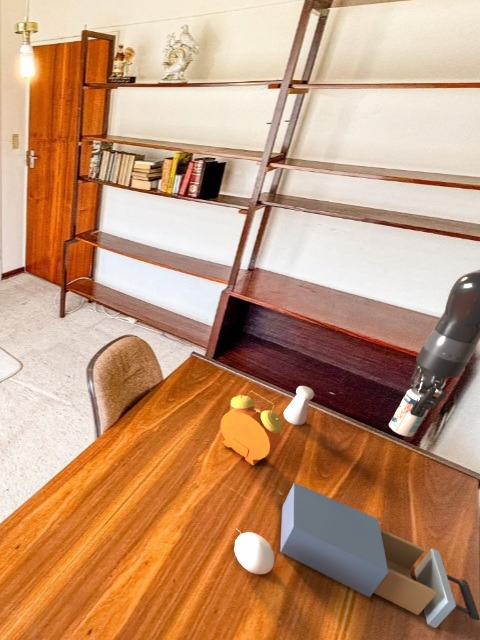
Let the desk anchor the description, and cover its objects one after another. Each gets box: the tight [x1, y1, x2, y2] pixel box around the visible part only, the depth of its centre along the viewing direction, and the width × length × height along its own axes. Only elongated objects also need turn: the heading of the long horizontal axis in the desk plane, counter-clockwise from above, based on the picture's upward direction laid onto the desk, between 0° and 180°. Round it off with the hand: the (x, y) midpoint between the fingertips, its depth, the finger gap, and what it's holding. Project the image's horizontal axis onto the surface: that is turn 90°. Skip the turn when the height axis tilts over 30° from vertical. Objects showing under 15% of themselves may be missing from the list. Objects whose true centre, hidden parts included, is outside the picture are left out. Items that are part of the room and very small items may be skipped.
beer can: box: [388, 388, 430, 438], centre depth 97 cm, size 5×5×12 cm
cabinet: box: [279, 482, 388, 598], centre depth 86 cm, size 16×13×10 cm
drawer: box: [373, 528, 480, 629], centre depth 79 cm, size 19×11×8 cm, turn 57°
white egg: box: [233, 529, 275, 575], centre depth 84 cm, size 10×7×7 cm
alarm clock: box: [220, 390, 284, 466], centre depth 107 cm, size 13×6×20 cm, turn 34°
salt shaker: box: [283, 385, 315, 426], centre depth 120 cm, size 6×6×13 cm
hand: (413, 408), depth 97 cm, fingers closed on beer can, 4 cm apart
